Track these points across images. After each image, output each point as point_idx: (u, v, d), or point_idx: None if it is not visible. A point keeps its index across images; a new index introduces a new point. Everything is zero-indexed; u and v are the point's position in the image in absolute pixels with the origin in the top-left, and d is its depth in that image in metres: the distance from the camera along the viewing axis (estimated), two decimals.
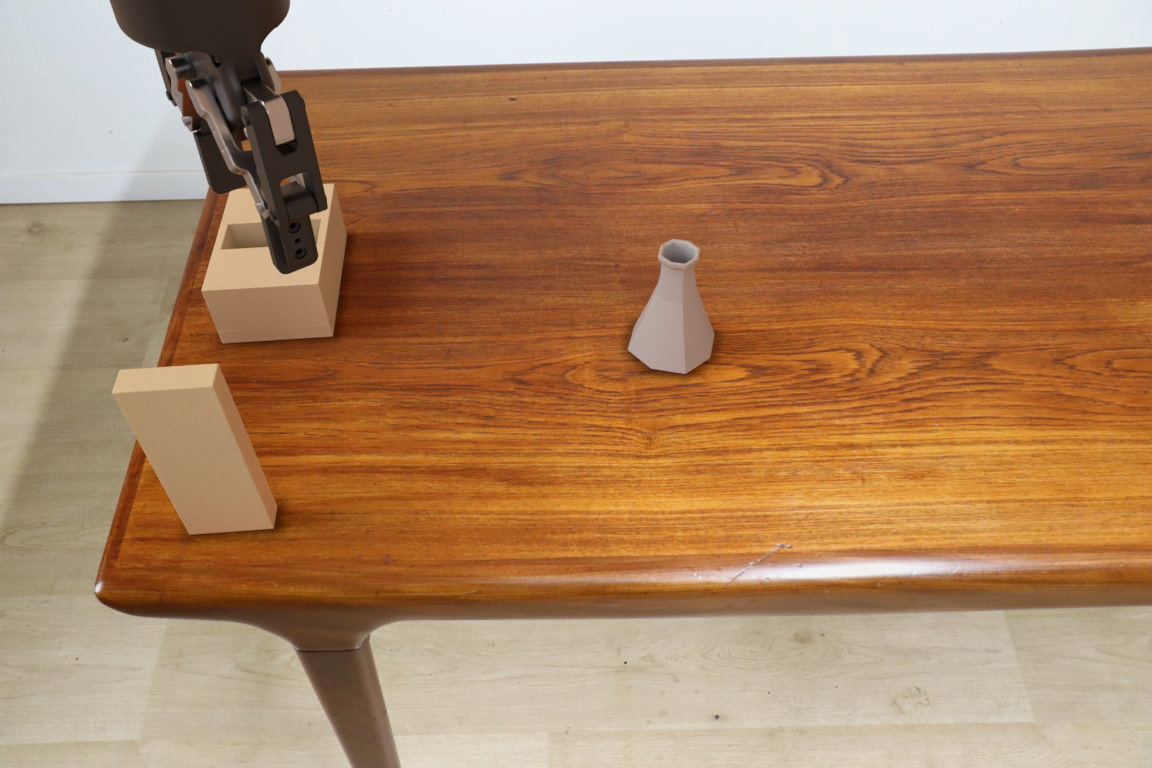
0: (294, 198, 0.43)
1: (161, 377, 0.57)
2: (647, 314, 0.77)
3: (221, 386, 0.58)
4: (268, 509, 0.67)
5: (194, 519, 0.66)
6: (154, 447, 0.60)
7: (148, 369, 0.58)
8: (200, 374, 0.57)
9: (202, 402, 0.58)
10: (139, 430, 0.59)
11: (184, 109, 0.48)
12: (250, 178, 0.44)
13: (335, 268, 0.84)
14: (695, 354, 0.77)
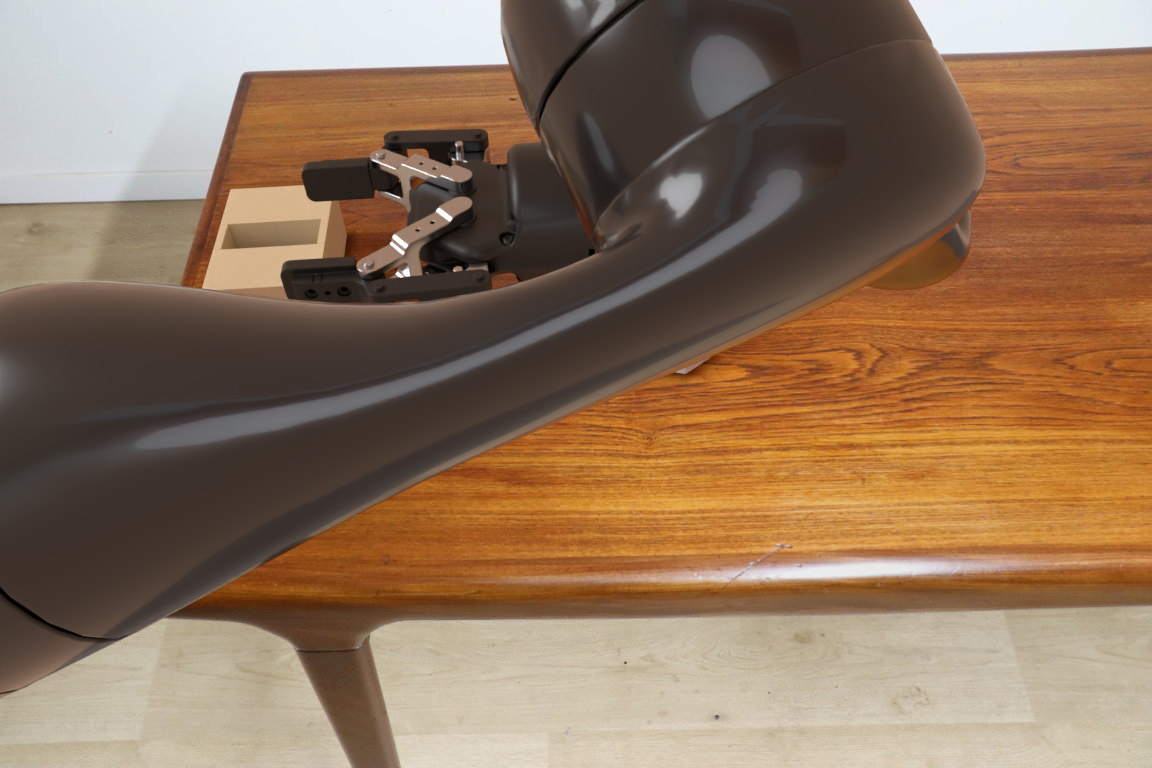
0: None
1: None
2: None
3: None
4: None
5: None
6: None
7: None
8: None
9: None
10: None
11: (409, 168, 0.51)
12: (397, 257, 0.47)
13: None
14: None
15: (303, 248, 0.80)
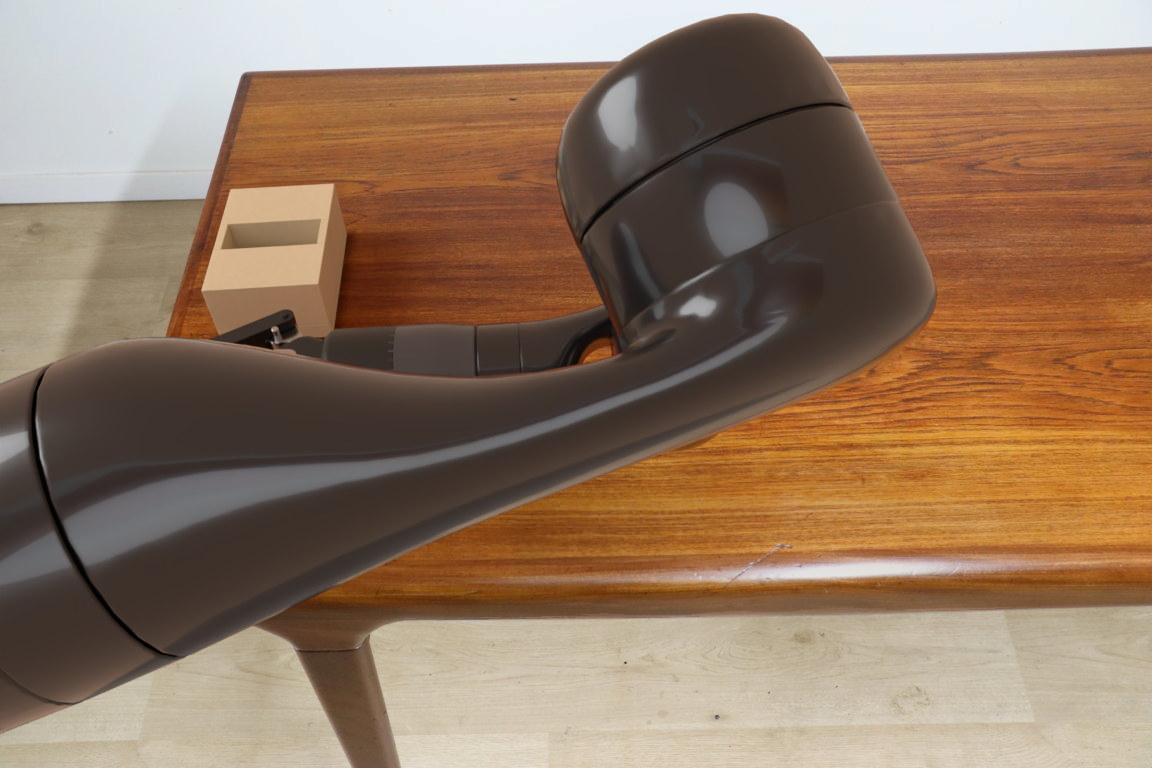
0: None
1: None
2: None
3: None
4: None
5: None
6: None
7: None
8: None
9: None
10: None
11: None
12: None
13: (335, 268, 0.84)
14: None
15: (303, 248, 0.80)
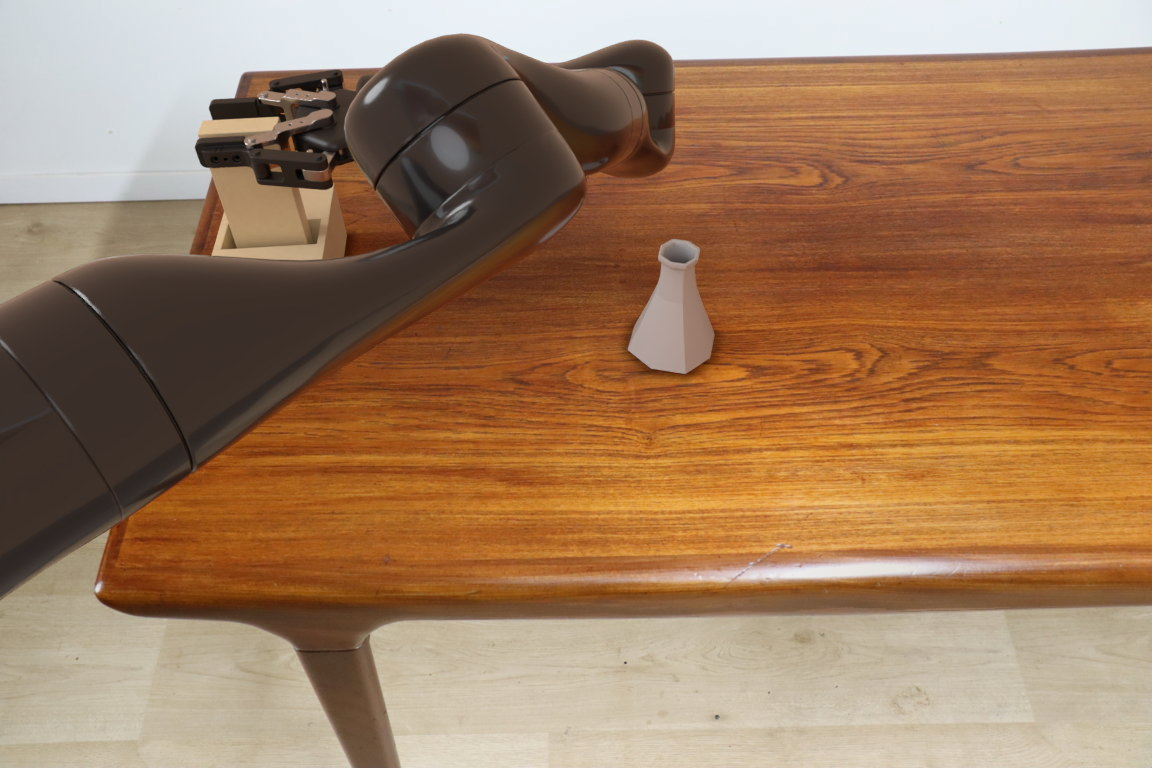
0: (268, 166, 0.71)
1: (235, 124, 0.74)
2: (647, 314, 0.77)
3: None
4: None
5: None
6: (227, 189, 0.77)
7: (224, 120, 0.74)
8: (265, 123, 0.74)
9: None
10: (216, 172, 0.75)
11: (289, 98, 0.74)
12: (271, 139, 0.71)
13: None
14: (695, 354, 0.77)
15: (303, 248, 0.80)
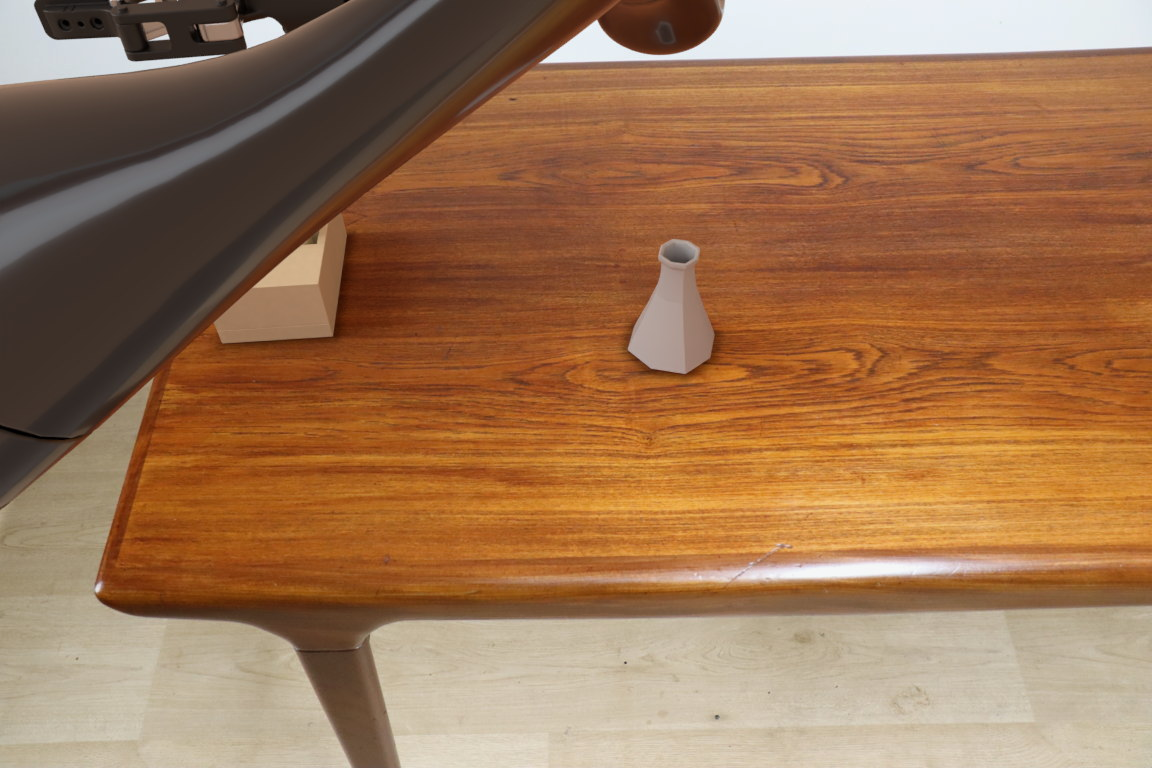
0: (141, 31, 0.47)
1: None
2: (647, 314, 0.77)
3: None
4: None
5: None
6: None
7: None
8: None
9: None
10: None
11: None
12: None
13: (335, 268, 0.84)
14: (695, 354, 0.77)
15: (303, 248, 0.80)
